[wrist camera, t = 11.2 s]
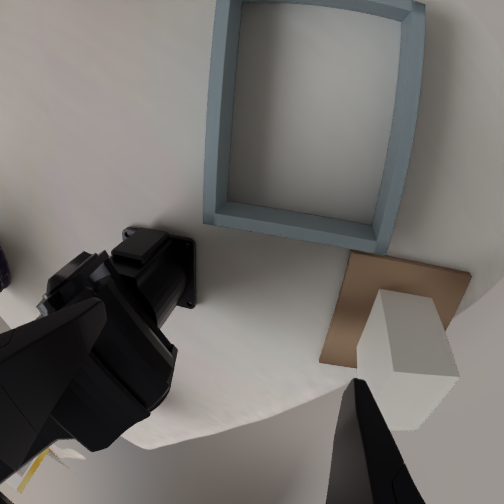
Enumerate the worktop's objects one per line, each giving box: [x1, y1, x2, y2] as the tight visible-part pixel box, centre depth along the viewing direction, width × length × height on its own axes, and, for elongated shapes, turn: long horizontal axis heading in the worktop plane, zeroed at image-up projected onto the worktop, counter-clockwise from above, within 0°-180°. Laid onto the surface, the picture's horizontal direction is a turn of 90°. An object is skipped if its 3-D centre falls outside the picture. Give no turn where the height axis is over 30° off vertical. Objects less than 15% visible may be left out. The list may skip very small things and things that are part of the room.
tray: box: [203, 0, 425, 256], centre depth 16 cm, size 16×12×2 cm
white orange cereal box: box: [5, 448, 49, 493], centre depth 78 cm, size 23×8×30 cm, turn 39°
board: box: [319, 250, 472, 368], centre depth 22 cm, size 11×10×1 cm
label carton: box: [357, 289, 460, 431], centre depth 19 cm, size 4×6×8 cm
